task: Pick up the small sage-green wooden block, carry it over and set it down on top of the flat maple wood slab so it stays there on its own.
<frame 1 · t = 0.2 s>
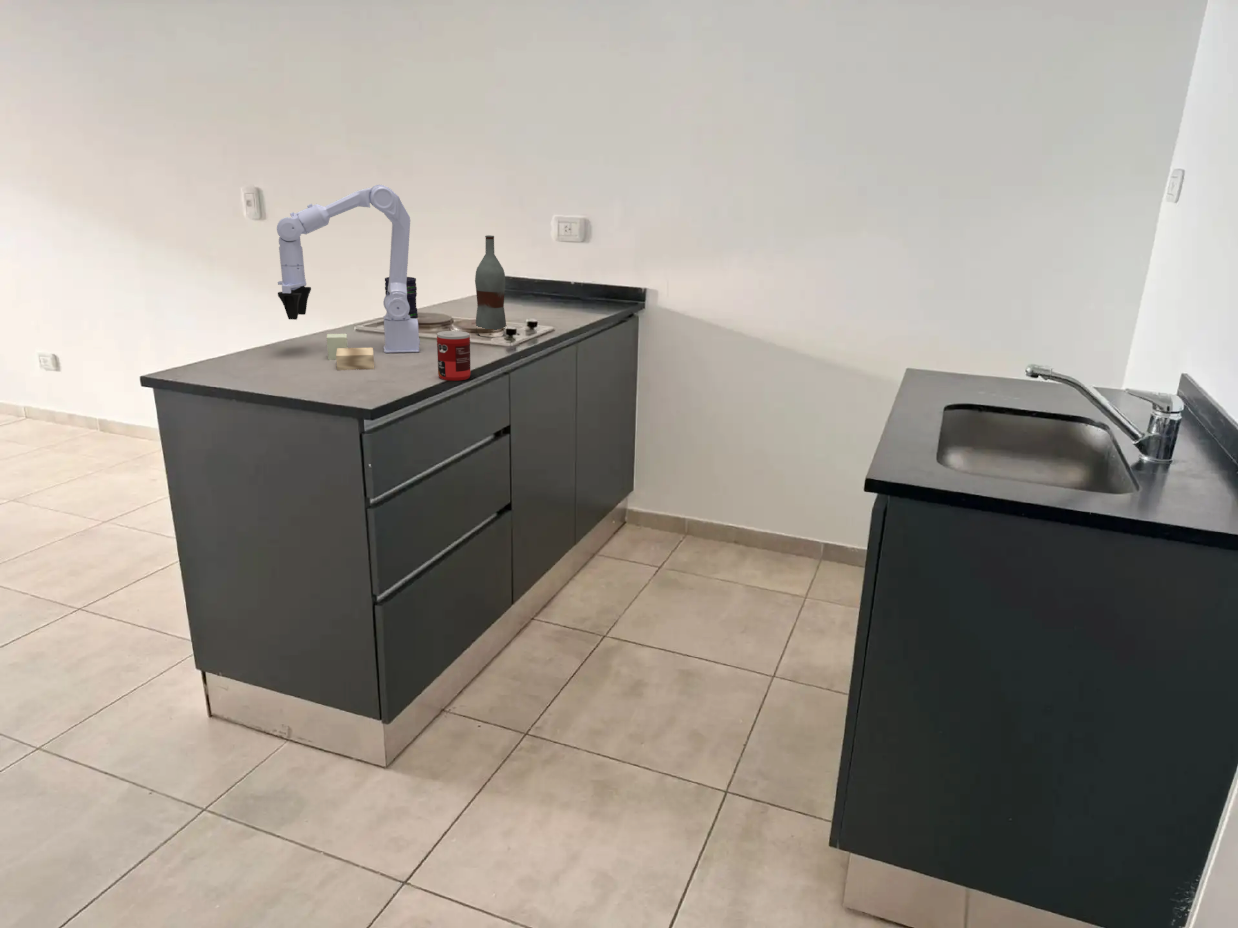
hand: (297, 316, 226), 10 cm above the counter, tool pointing down, fingers open, 7 cm apart
bottle: (491, 335, 264), on the counter
canned food: (454, 378, 211), on the counter
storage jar: (402, 326, 273), on the counter
maple slab: (356, 366, 219), on the counter
sage block: (338, 357, 226), on the counter
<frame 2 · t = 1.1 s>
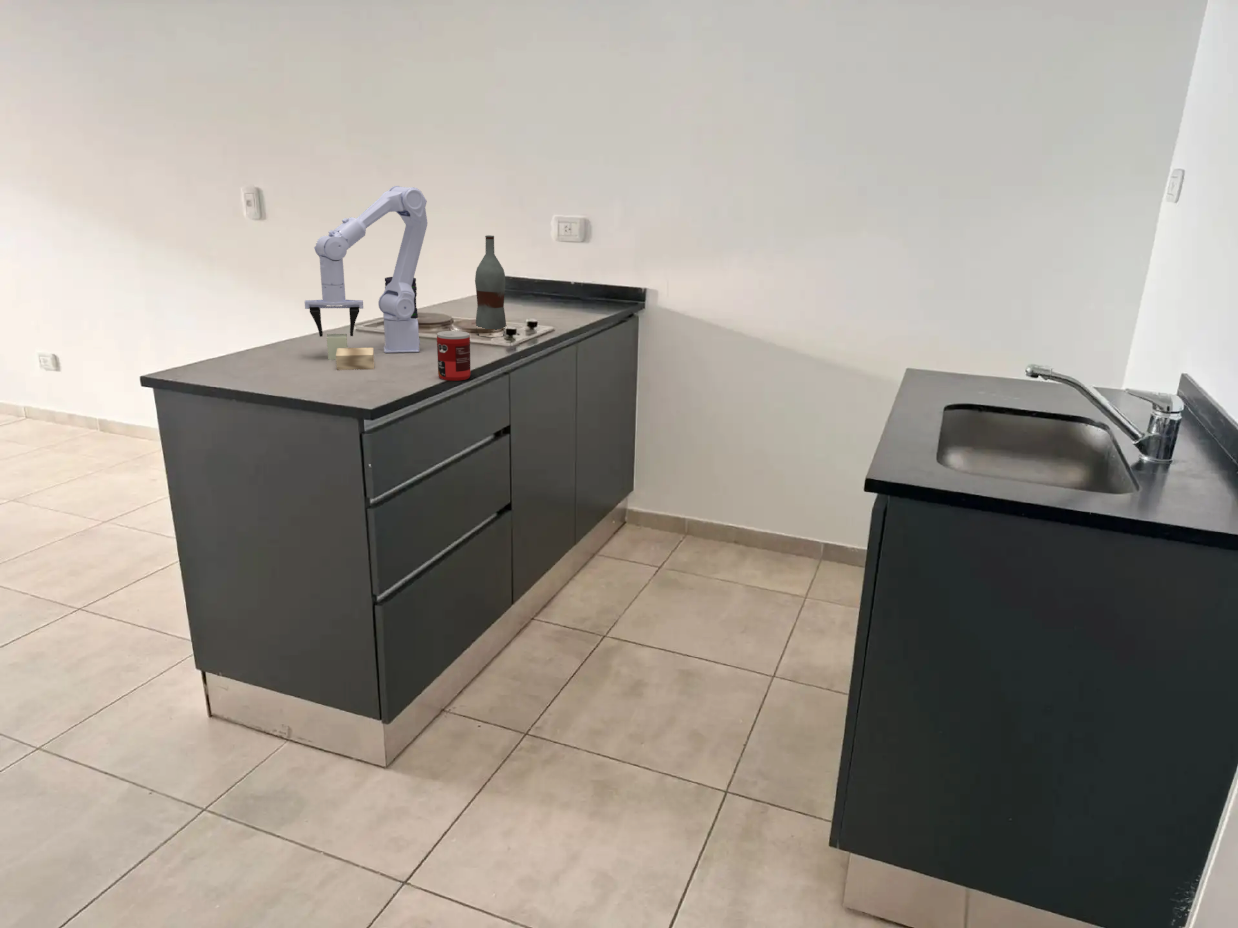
hand: (336, 335, 224), 6 cm above the counter, tool pointing down, fingers open, 7 cm apart
nothing on the counter moved.
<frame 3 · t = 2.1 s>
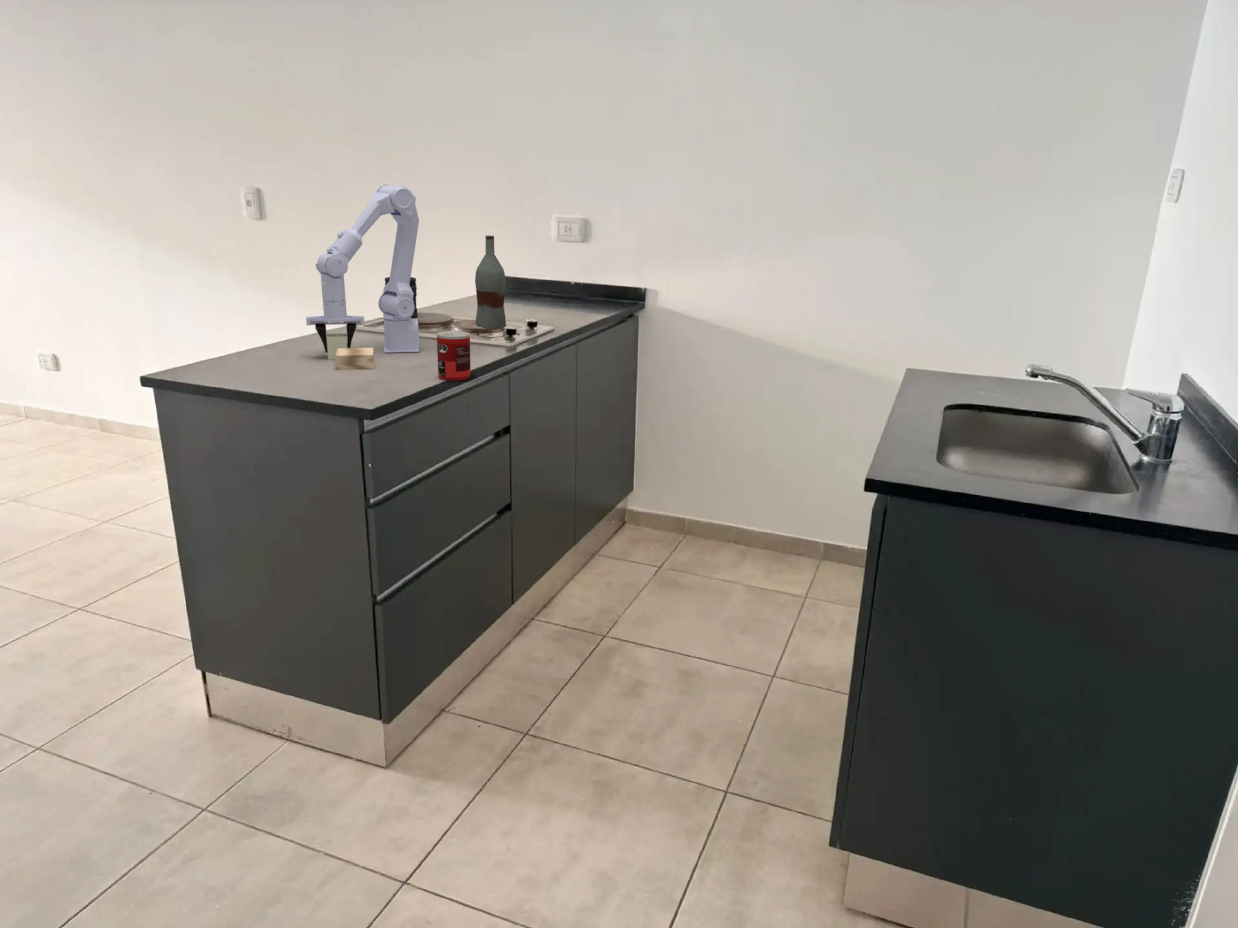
hand: (338, 351, 226), 2 cm above the counter, tool pointing down, fingers closed on sage block, 5 cm apart
sage block: (338, 357, 226), on the counter, touching gripper
everything else where it was.
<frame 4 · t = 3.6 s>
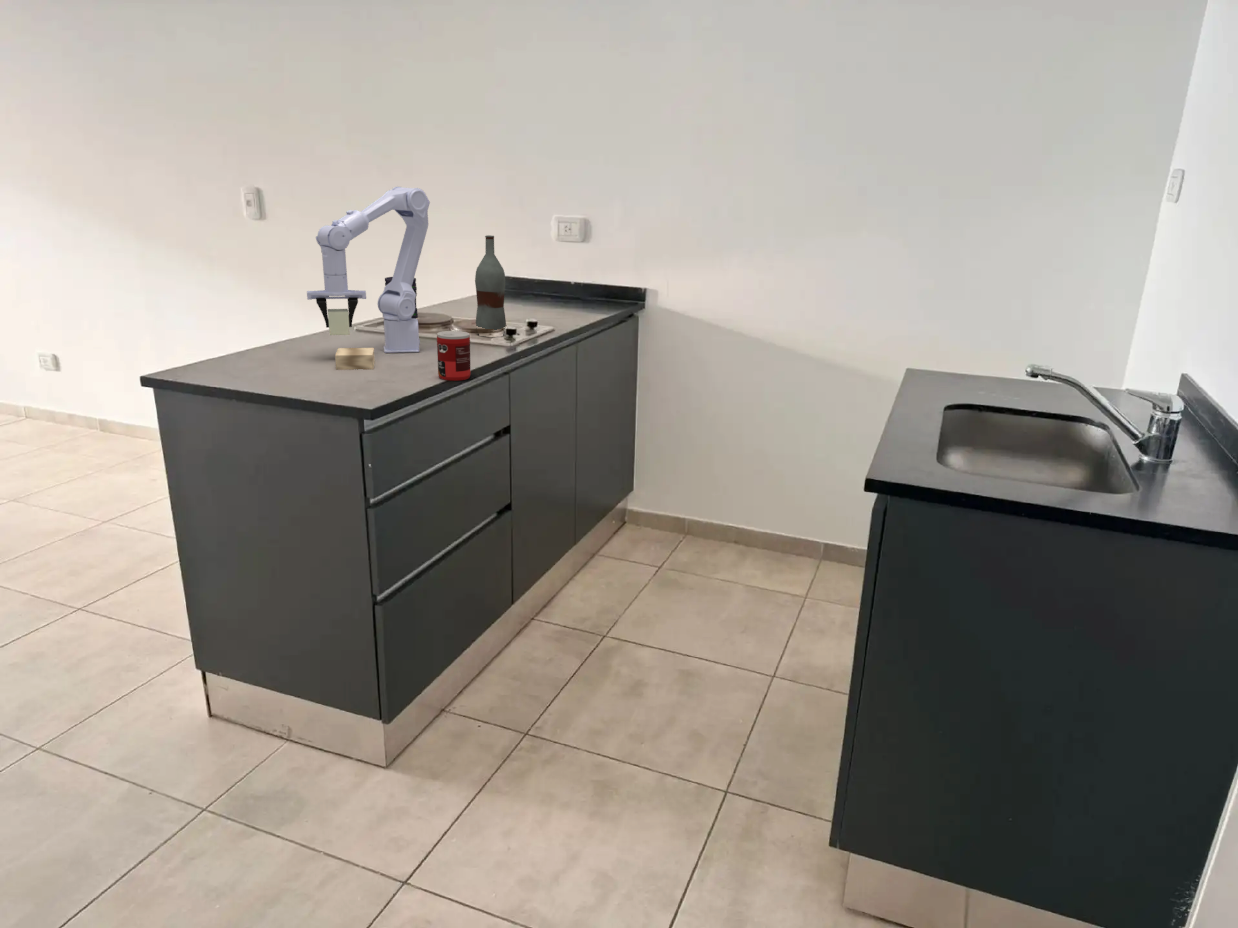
hand: (339, 326, 222), 9 cm above the counter, tool pointing down, fingers closed on sage block, 5 cm apart
sage block: (339, 333, 223), point 7 cm above the counter, touching gripper
everything else where it was.
when the fingers open (7 cm above the counter, at t = 5.0 s): sage block drops 2 cm, point 4 cm above the counter.
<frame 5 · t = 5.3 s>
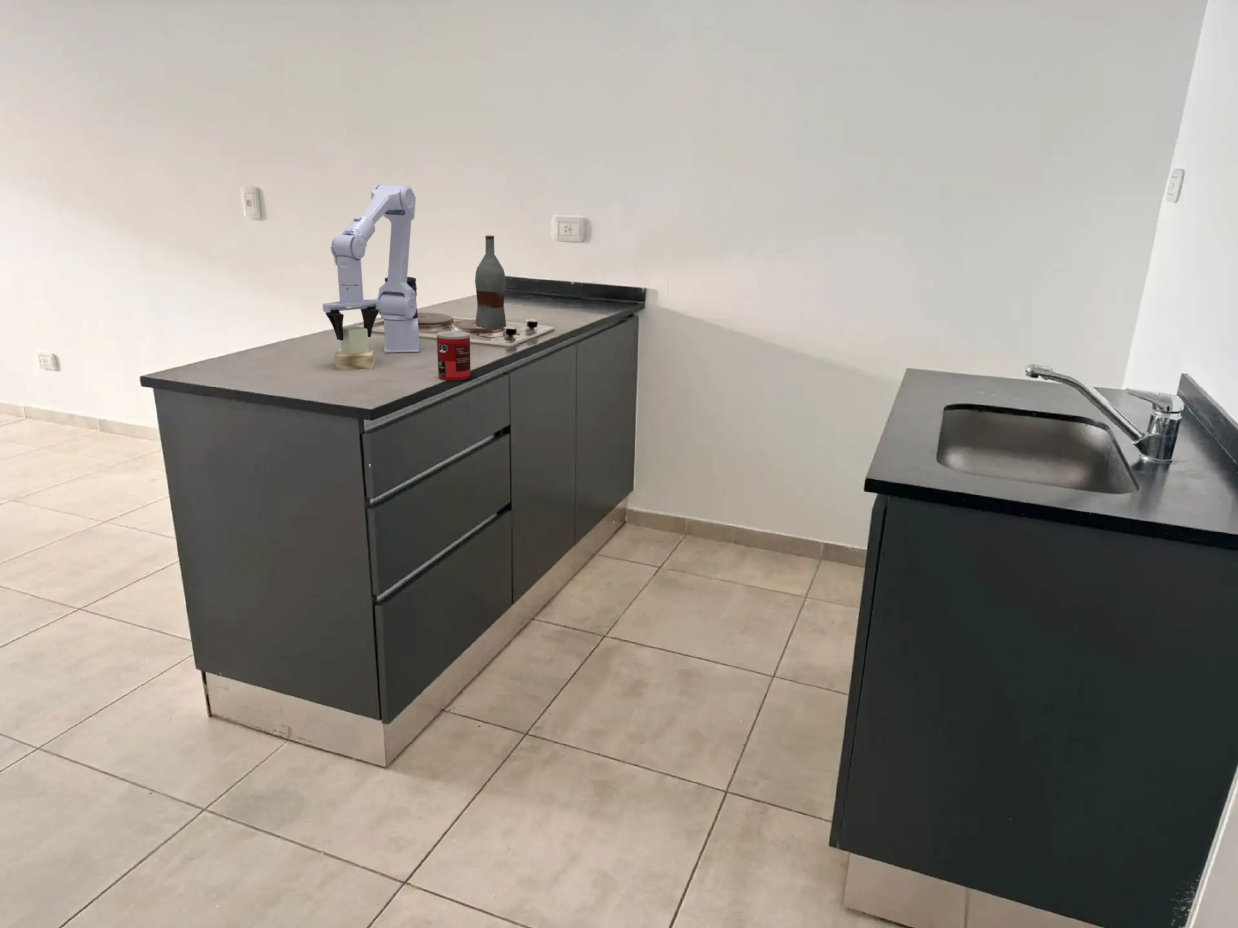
hand: (354, 338, 216), 7 cm above the counter, tool pointing down, fingers open, 7 cm apart
sage block: (355, 351, 218), point 4 cm above the counter
everything else where it was.
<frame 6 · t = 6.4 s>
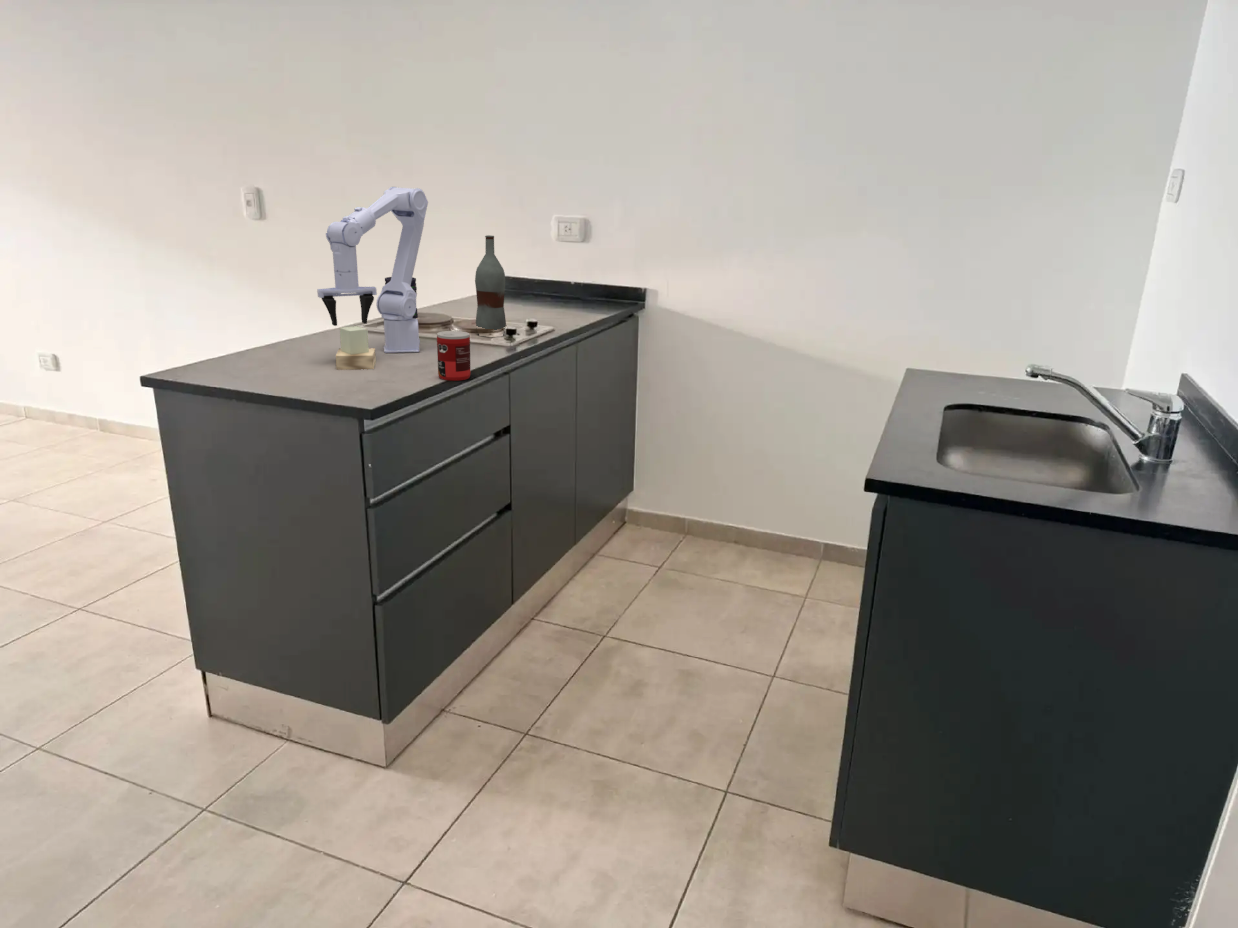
hand: (349, 324, 220), 10 cm above the counter, tool pointing down, fingers open, 7 cm apart
maple slab: (356, 367, 219), on the counter, touching sage block
sage block: (354, 351, 217), point 4 cm above the counter, touching maple slab
everything else where it was.
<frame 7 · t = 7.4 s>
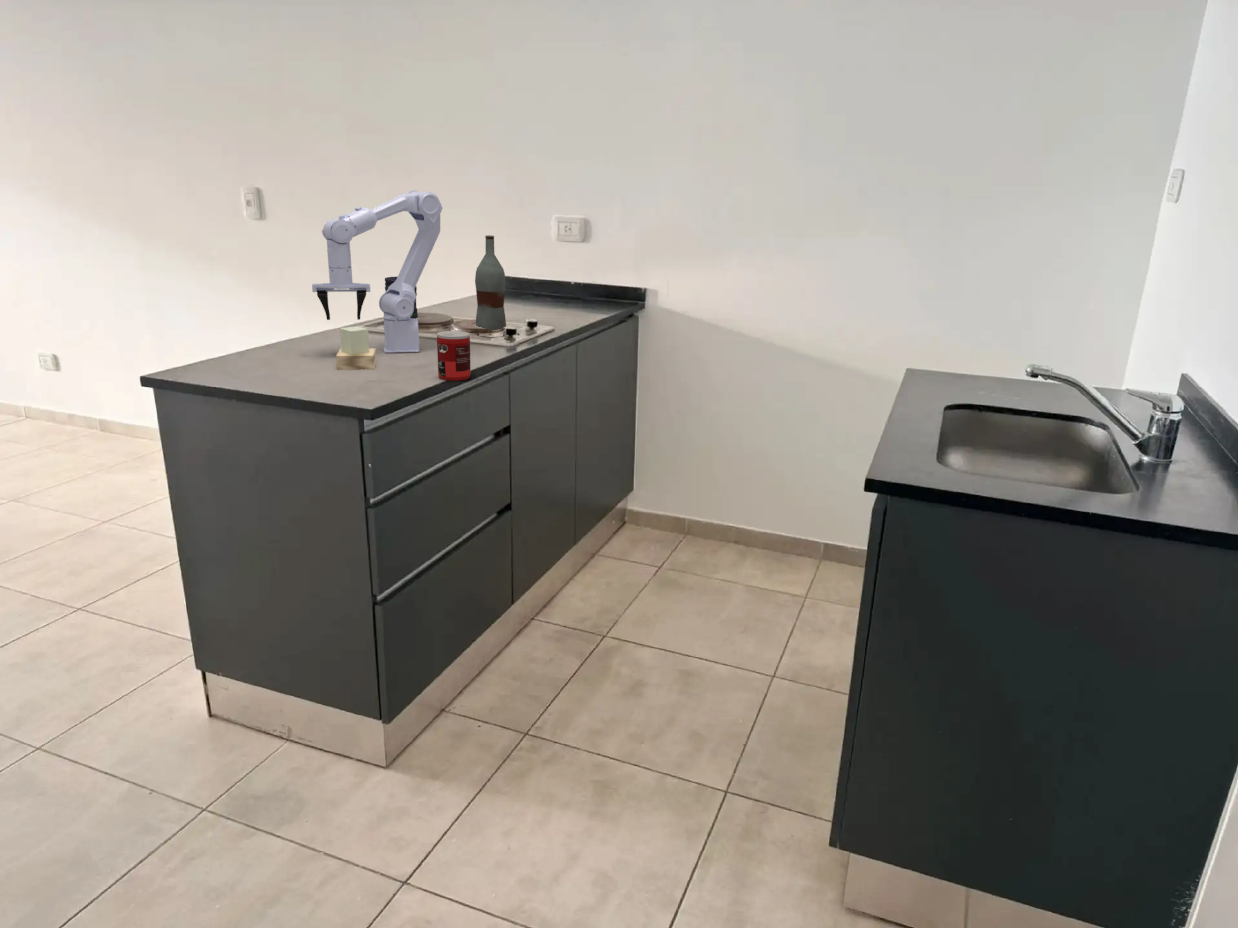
hand: (343, 319, 225), 10 cm above the counter, tool pointing down, fingers open, 7 cm apart
nothing on the counter moved.
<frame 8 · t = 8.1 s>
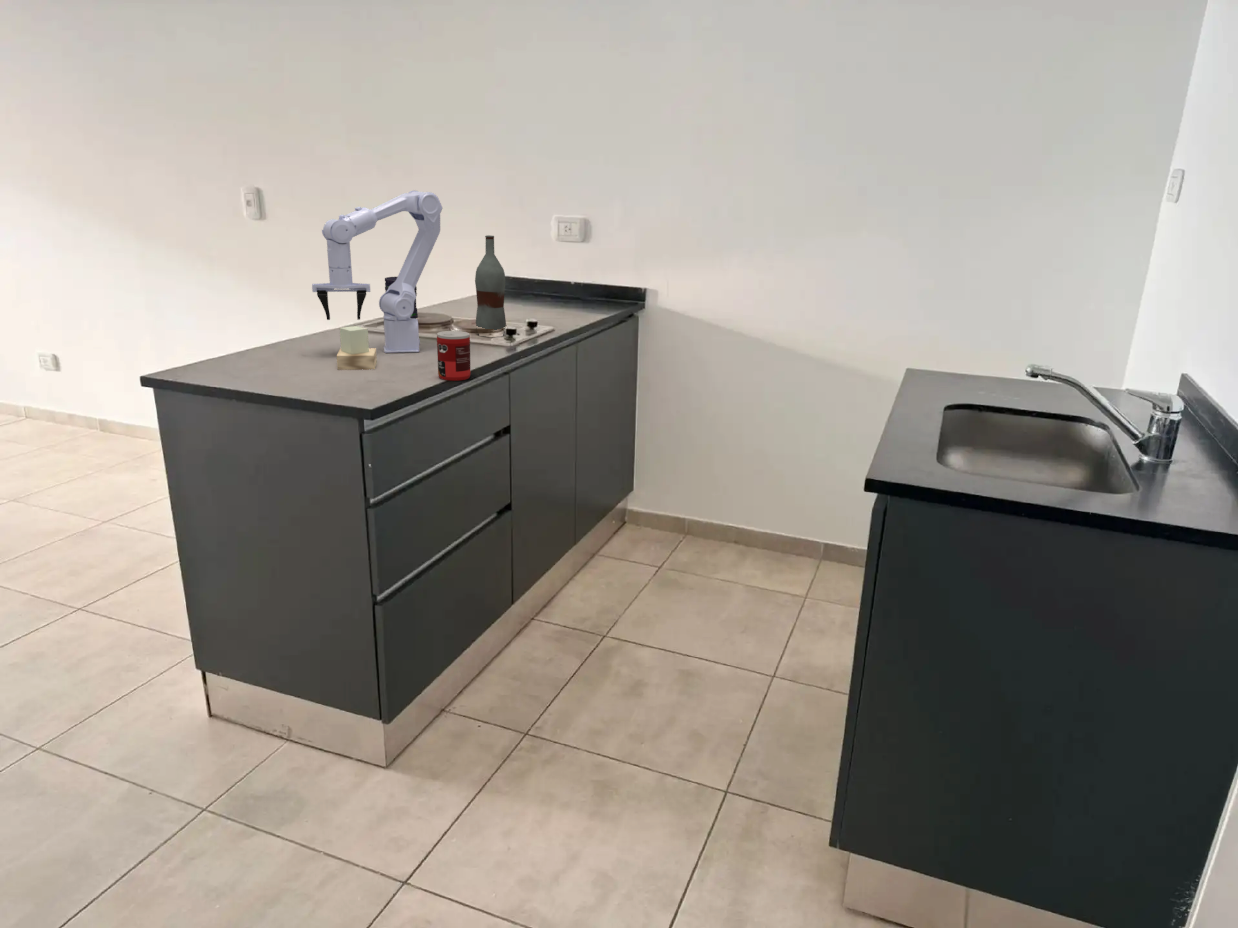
hand: (343, 319, 225), 10 cm above the counter, tool pointing down, fingers open, 7 cm apart
nothing on the counter moved.
at the end: sage block 0.7 cm off-centre on the maple slab, point 4.0 cm above the maple slab's base; sage block tilted 0°; the gripper is holding nothing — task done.
